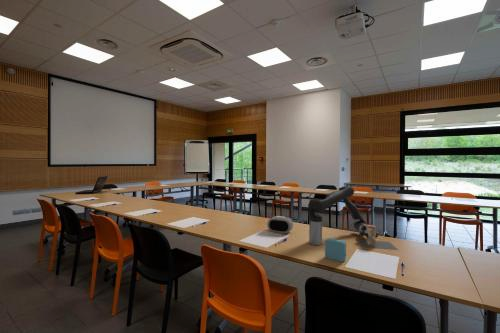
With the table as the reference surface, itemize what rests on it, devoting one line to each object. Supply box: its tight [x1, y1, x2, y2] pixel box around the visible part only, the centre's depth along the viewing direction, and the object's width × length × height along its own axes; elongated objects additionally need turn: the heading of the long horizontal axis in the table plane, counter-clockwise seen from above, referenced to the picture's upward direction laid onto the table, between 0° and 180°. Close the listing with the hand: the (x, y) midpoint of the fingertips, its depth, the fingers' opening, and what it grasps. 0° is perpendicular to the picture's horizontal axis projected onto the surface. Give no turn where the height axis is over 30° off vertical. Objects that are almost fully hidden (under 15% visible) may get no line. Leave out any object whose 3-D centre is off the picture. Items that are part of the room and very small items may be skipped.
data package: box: [324, 237, 347, 263], centre depth 157 cm, size 12×4×12 cm, turn 53°
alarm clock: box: [266, 215, 294, 235], centre depth 215 cm, size 21×10×13 cm, turn 67°
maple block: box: [365, 224, 377, 246], centre depth 183 cm, size 5×5×14 cm
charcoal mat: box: [356, 239, 399, 251], centre depth 183 cm, size 24×18×1 cm
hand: (372, 236), depth 180 cm, fingers closed on maple block, 5 cm apart
